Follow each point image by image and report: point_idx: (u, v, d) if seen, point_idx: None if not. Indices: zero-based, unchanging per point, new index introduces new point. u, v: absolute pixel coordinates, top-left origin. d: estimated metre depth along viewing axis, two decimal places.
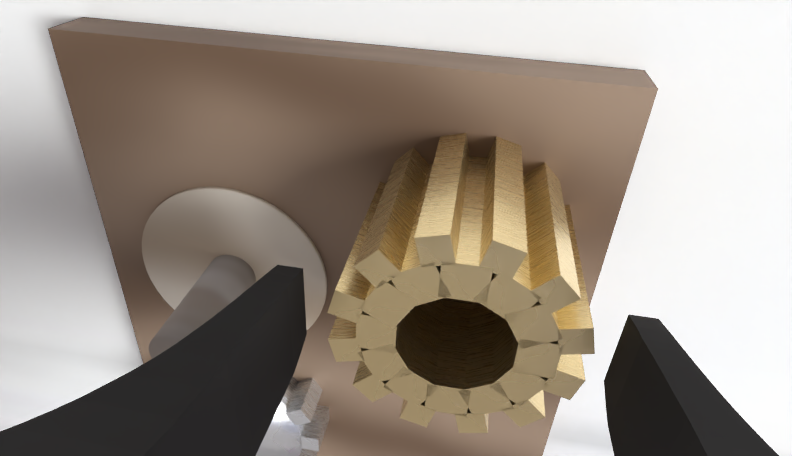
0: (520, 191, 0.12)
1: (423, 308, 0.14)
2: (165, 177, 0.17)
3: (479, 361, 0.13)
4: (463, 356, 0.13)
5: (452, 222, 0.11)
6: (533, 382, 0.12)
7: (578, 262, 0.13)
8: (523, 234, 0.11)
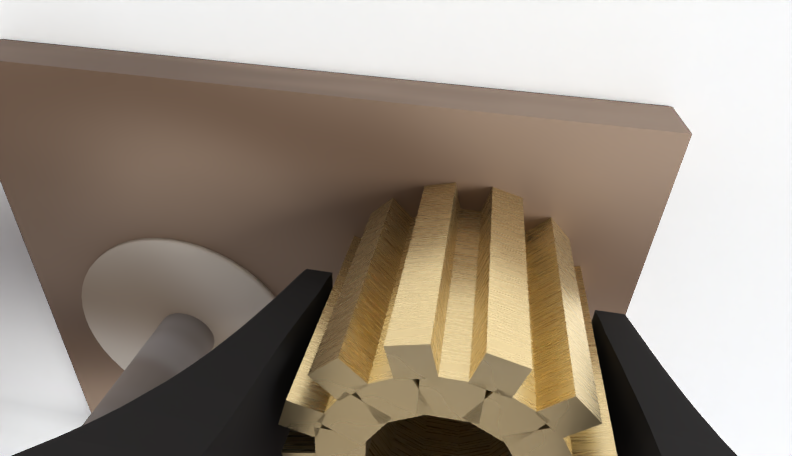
0: (522, 266, 0.10)
1: None
2: (103, 226, 0.14)
3: None
4: None
5: (434, 322, 0.08)
6: None
7: (594, 351, 0.10)
8: (526, 338, 0.08)
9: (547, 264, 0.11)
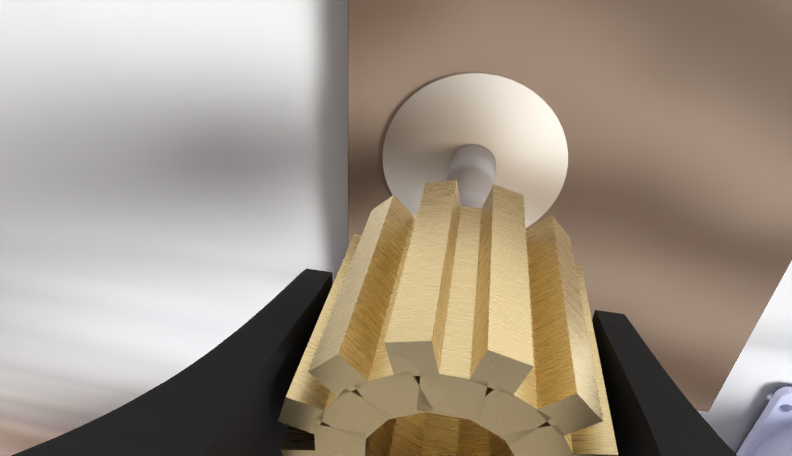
0: (524, 263, 0.10)
1: None
2: (426, 64, 0.18)
3: None
4: None
5: (435, 319, 0.08)
6: None
7: (594, 349, 0.10)
8: (528, 335, 0.08)
9: (548, 262, 0.11)
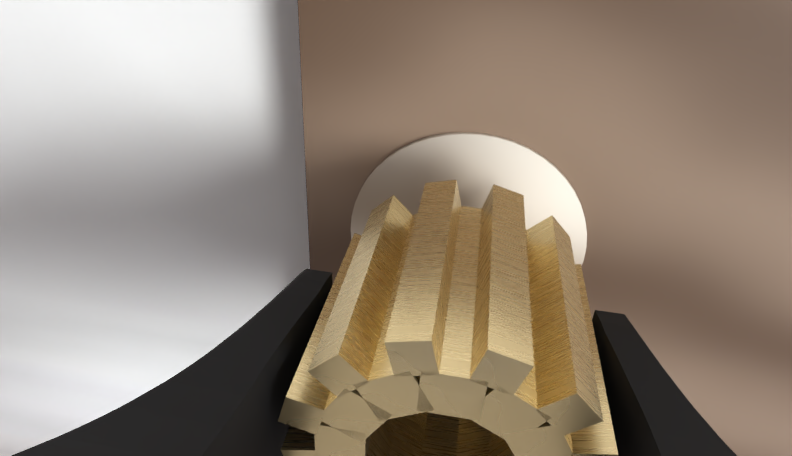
0: (524, 263, 0.10)
1: None
2: (404, 120, 0.14)
3: None
4: None
5: (435, 319, 0.08)
6: None
7: (594, 349, 0.10)
8: (528, 335, 0.08)
9: (548, 262, 0.11)
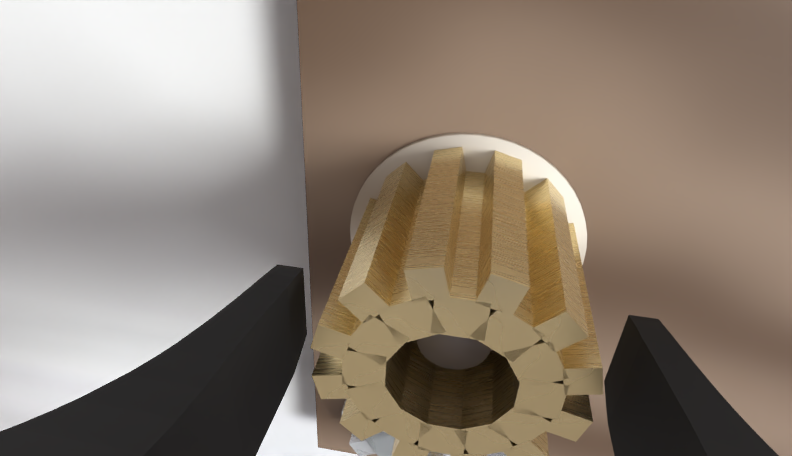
0: (521, 212, 0.11)
1: None
2: (403, 121, 0.14)
3: (477, 396, 0.12)
4: (459, 390, 0.12)
5: (446, 252, 0.10)
6: (535, 422, 0.11)
7: (584, 289, 0.12)
8: (525, 265, 0.10)
9: (543, 215, 0.12)
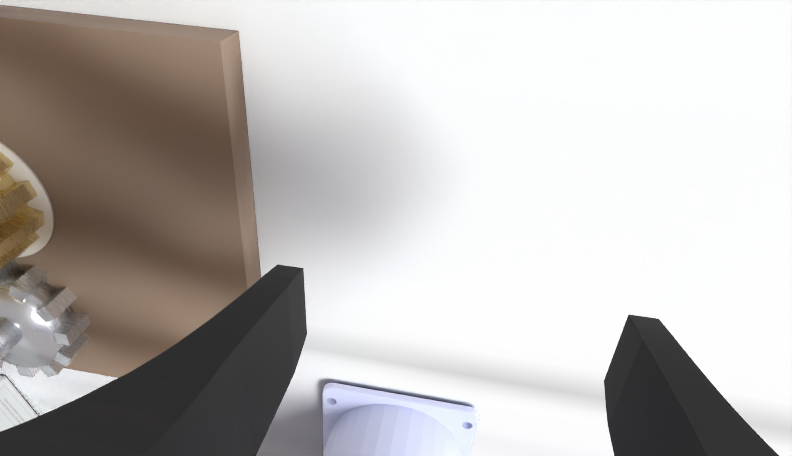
0: None
1: None
2: None
3: None
4: None
5: None
6: None
7: None
8: None
9: None
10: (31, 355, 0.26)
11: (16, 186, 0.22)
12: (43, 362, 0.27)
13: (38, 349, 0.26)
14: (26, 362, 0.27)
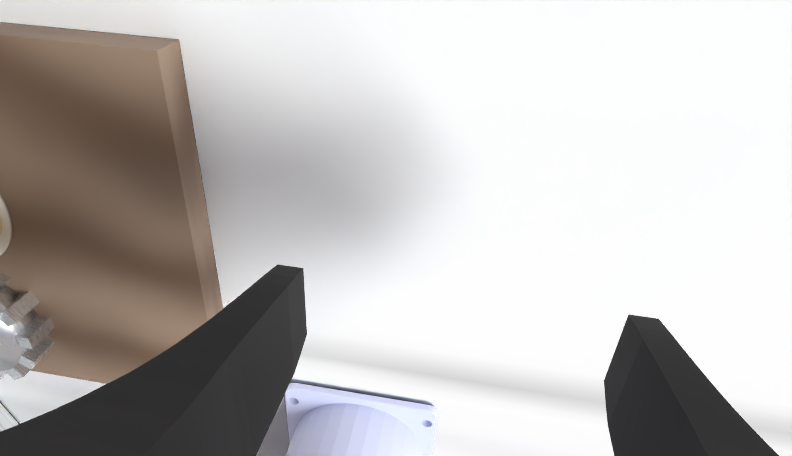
0: None
1: None
2: None
3: None
4: None
5: None
6: None
7: None
8: None
9: None
10: None
11: None
12: (8, 365, 0.27)
13: (2, 352, 0.27)
14: None
